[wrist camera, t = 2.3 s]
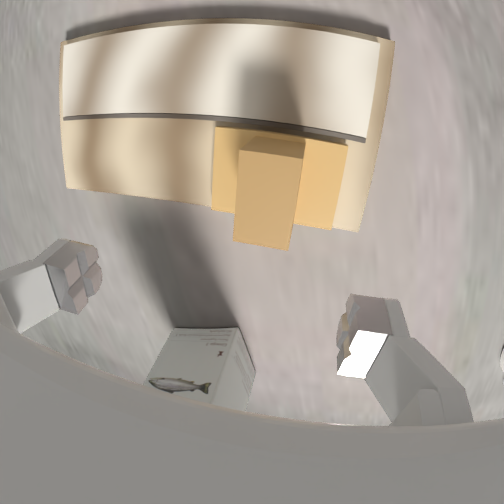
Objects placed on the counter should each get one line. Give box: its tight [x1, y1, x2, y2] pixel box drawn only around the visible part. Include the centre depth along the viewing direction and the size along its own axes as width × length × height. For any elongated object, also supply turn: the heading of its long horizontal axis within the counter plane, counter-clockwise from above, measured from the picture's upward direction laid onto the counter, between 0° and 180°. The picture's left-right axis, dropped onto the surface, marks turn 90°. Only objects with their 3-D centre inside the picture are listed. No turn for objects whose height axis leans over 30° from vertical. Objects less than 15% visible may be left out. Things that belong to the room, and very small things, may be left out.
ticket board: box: [59, 18, 395, 232], centre depth 18 cm, size 24×13×2 cm, turn 85°
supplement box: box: [143, 327, 256, 411], centre depth 26 cm, size 7×7×13 cm
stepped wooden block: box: [211, 126, 348, 251], centre depth 17 cm, size 8×6×5 cm
